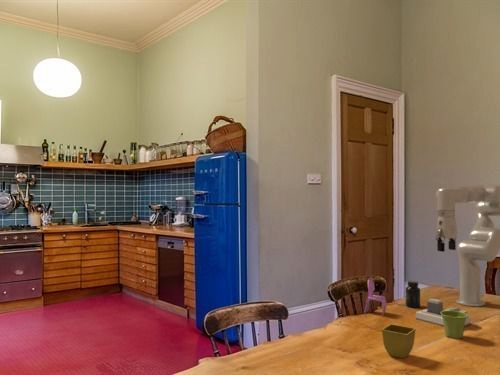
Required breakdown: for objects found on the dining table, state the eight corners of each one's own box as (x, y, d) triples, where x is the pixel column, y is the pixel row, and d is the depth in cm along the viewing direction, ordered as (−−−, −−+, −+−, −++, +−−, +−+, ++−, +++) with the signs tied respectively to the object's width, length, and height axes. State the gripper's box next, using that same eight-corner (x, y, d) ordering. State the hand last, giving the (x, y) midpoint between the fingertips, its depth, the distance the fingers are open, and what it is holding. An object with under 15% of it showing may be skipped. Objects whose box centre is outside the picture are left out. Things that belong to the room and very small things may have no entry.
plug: (432, 316, 191) (431, 298, 191) (442, 318, 187) (442, 300, 187) (427, 317, 189) (427, 299, 189) (438, 320, 185) (438, 301, 185)
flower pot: (391, 348, 153) (391, 323, 153) (416, 354, 147) (416, 328, 147) (381, 356, 146) (381, 329, 146) (407, 362, 140) (407, 334, 140)
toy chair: (382, 316, 193) (382, 282, 193) (363, 313, 198) (362, 280, 198) (387, 312, 200) (386, 279, 200) (368, 309, 205) (368, 277, 205)
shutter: (451, 313, 186) (450, 305, 186) (467, 317, 180) (467, 308, 180) (442, 316, 182) (442, 308, 182) (458, 320, 176) (458, 311, 176)
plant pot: (470, 341, 160) (470, 317, 160) (443, 339, 162) (443, 316, 162) (463, 333, 169) (463, 311, 170) (438, 331, 171) (438, 309, 171)
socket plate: (431, 314, 196) (430, 306, 196) (470, 324, 181) (470, 315, 181) (415, 318, 189) (415, 310, 189) (455, 329, 174) (455, 320, 174)
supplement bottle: (422, 308, 206) (422, 283, 207) (408, 308, 207) (408, 283, 207) (417, 304, 213) (417, 280, 213) (403, 304, 213) (403, 280, 214)
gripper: (444, 215, 195) (444, 252, 195) (463, 213, 205) (463, 249, 205) (428, 214, 201) (429, 251, 201) (448, 213, 211) (448, 248, 211)
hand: (446, 250), depth 203 cm, fingers open, 9 cm apart
